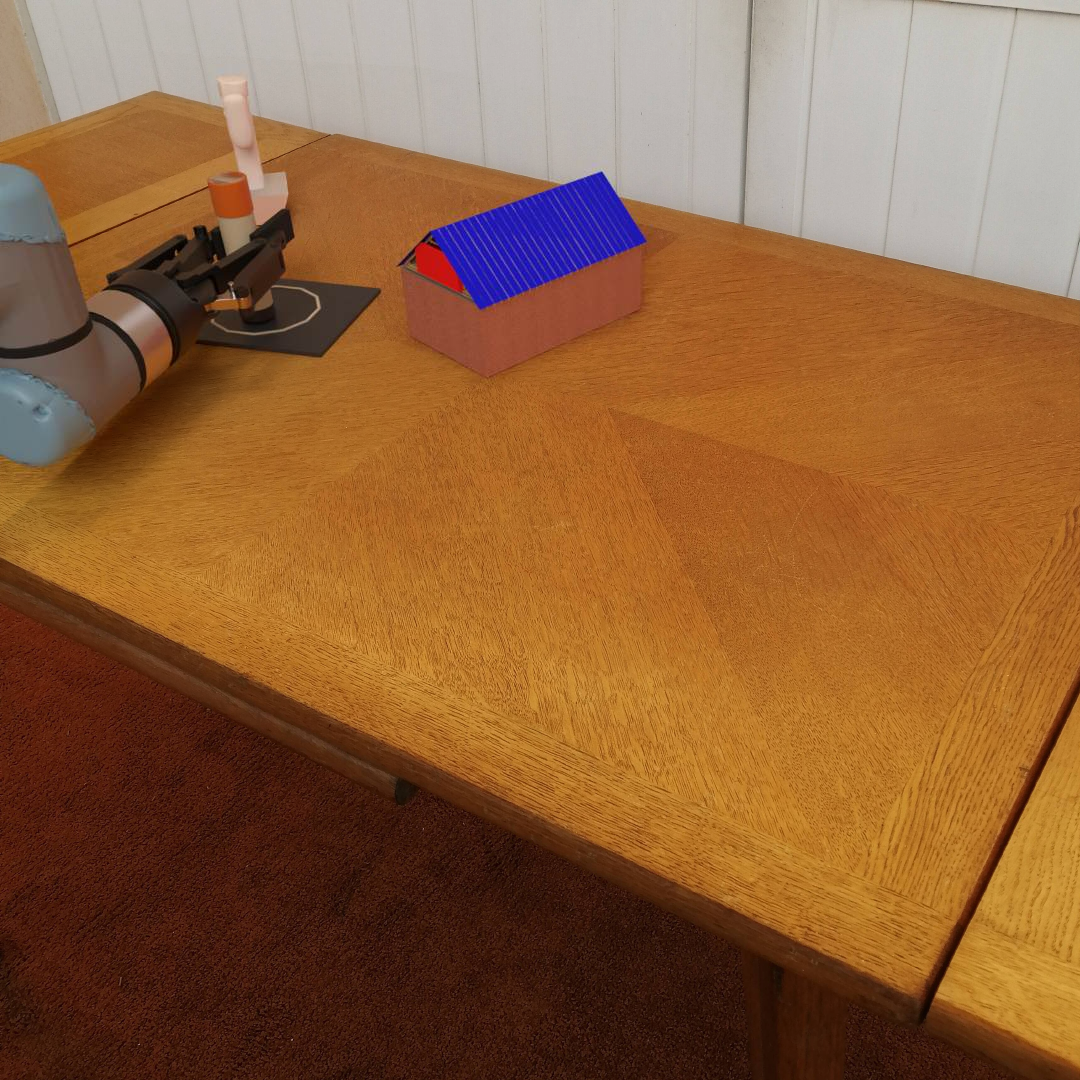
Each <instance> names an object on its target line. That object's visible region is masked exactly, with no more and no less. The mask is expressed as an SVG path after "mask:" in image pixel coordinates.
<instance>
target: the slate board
mask: <svg viewBox="0 0 1080 1080" xmlns="http://www.w3.org/2000/svg"><path fill="white" fill-rule="evenodd" d="M270 290H271V294H272V299H273V301H274V305H275V310H276V314H275V316H274V317H273V318H271V319H269V320H266V321H263V322H255V323H254V322H246V321H244V320H242V319H241V316H240V315H239V311H235V310H234V309H228V310H221V311H220V314H219V315H218V316H217V317H216V318H214V319H211V320H209V321H207V322H205V323H203V324H202V327H201V329H200V332H199V335H198V338H197V341H196V343H195V344H202V345H203V344H204V345H212V346H220V347H231V348H237V349H247V350H255V351H262V352H263V351H264V352H273V353H280V354H291V355H297V356H298V355H300V356H306V357H307V356H308V357H316V358H321V357H323V355H324V354H325V353H326V352H327V351H328V350H329V349H331V347H332V346H333V344H335V343H336V342H337V340H338V339H339V338H340V337H341V336H342V335H343V334H344V333H345V332H346V331H347V329H348V328H349V327H351V325H352V324H353V323H354V322H355V321H356V320H357V318H358V317H359V316H360V315H361V314H363V312H364V311H365V310H366V309H367V308H368V307H369V306H370V305H371V304H372V302H373V301H374V300H375V299H376V298H377V297H378V296H379V295H380V294H381V292H382V290H381V288H380V287H370V286H361V285H352V284H341V283H331V282H321V281H311V280H301V279H292V278H282V277H280V278H279V279H278V280H277V281H276V283H275V284H274V285H273V286H272V287H271V288H270Z"/></svg>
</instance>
